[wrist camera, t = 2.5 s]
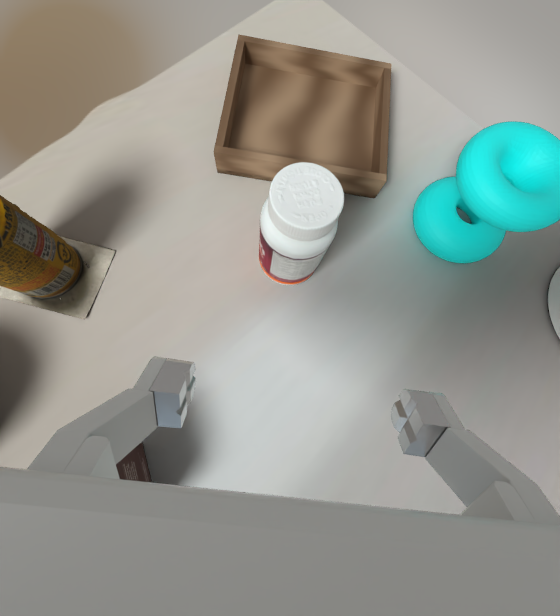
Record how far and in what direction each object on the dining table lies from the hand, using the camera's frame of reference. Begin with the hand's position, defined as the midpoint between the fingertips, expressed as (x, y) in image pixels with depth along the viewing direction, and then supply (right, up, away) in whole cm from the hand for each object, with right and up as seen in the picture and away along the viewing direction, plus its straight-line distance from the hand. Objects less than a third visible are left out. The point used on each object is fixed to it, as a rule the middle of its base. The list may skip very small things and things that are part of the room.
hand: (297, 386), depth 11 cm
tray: (+2, +25, +23) cm, 34 cm away
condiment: (-22, +6, +17) cm, 29 cm away
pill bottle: (0, +8, +19) cm, 21 cm away
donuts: (+19, +12, +22) cm, 31 cm away
